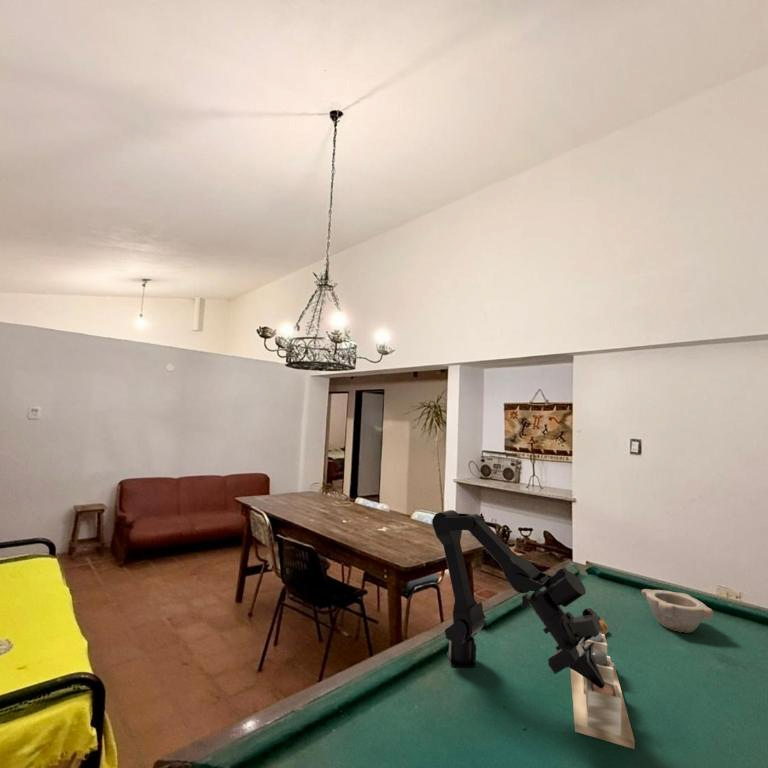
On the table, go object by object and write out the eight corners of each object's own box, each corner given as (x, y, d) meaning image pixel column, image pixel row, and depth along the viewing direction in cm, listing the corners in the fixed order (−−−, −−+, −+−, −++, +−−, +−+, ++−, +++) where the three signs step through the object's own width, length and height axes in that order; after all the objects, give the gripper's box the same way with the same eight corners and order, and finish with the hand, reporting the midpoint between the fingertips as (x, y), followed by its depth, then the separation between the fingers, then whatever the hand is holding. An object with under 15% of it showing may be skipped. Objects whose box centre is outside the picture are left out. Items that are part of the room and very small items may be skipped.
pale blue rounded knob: (584, 650, 113) (585, 632, 113) (583, 643, 116) (584, 626, 117) (601, 654, 111) (601, 636, 112) (600, 646, 115) (600, 629, 115)
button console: (575, 731, 90) (575, 689, 91) (569, 658, 119) (570, 626, 119) (634, 749, 86) (634, 704, 87) (613, 668, 115) (614, 635, 115)
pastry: (597, 642, 129) (597, 629, 129) (575, 633, 134) (575, 620, 134) (610, 633, 135) (610, 620, 135) (588, 624, 140) (588, 612, 140)
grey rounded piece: (588, 674, 102) (588, 655, 102) (587, 665, 105) (587, 647, 106) (607, 679, 100) (607, 659, 100) (605, 670, 104) (605, 651, 104)
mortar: (688, 618, 149) (688, 591, 150) (719, 642, 132) (718, 611, 133) (637, 612, 152) (637, 585, 152) (660, 635, 135) (660, 605, 136)
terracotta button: (593, 712, 90) (593, 690, 91) (591, 701, 94) (591, 680, 94) (614, 718, 89) (614, 696, 89) (611, 707, 93) (612, 685, 93)
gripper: (564, 611, 90) (622, 690, 82) (590, 588, 104) (642, 653, 95) (527, 636, 94) (578, 713, 86) (557, 610, 108) (603, 675, 100)
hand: (603, 686), depth 92 cm, fingers closed, pressing on terracotta button
